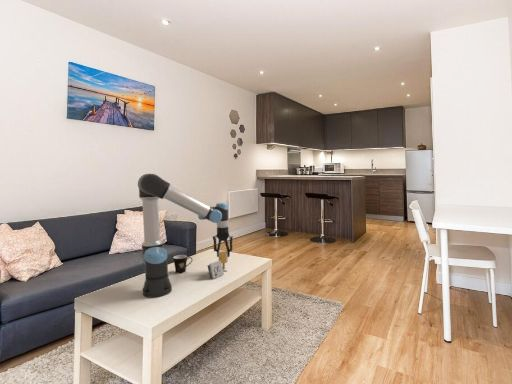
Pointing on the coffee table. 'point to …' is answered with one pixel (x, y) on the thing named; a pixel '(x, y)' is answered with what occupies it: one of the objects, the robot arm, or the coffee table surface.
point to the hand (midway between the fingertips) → (223, 261)
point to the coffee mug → (180, 263)
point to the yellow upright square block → (222, 256)
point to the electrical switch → (215, 269)
